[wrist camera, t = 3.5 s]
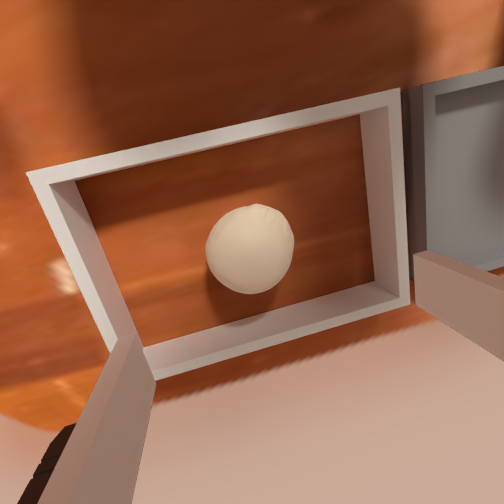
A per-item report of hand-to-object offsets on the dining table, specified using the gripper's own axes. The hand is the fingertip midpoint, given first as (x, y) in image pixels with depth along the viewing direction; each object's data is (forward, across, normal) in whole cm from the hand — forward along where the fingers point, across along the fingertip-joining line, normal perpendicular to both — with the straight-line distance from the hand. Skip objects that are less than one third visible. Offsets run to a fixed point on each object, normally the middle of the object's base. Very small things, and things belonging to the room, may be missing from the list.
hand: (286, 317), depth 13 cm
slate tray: (+14, +25, 0) cm, 29 cm away
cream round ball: (+14, 0, 0) cm, 14 cm away
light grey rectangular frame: (+14, 0, 0) cm, 14 cm away
